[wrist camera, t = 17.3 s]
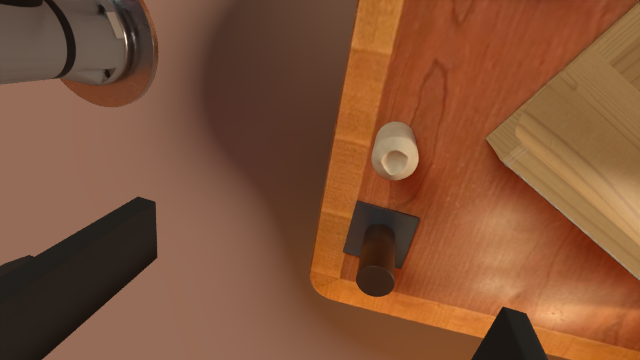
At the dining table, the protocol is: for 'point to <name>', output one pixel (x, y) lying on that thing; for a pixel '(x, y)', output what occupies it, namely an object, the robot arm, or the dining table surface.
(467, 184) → the dining table surface
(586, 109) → the skate ramp
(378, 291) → the dark brown cylinder
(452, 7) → the dining table surface
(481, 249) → the dining table surface
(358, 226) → the coaster
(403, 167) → the candle
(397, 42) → the dining table surface
